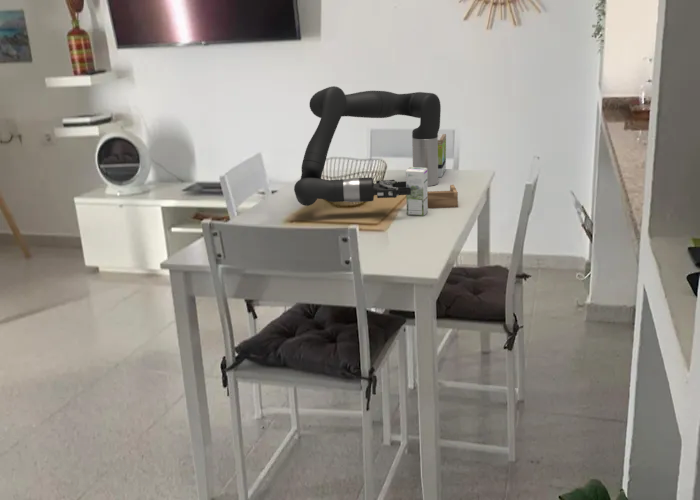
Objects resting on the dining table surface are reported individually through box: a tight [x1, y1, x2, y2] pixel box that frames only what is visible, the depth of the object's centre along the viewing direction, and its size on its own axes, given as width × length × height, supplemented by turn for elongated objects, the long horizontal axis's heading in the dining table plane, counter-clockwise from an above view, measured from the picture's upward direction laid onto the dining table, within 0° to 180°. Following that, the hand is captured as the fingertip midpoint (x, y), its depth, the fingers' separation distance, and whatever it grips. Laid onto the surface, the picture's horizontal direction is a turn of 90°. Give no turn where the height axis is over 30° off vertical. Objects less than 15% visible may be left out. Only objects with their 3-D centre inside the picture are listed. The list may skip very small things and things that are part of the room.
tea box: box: [438, 133, 447, 178], centre depth 291 cm, size 15×10×15 cm, turn 168°
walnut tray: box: [427, 184, 459, 209], centre depth 247 cm, size 11×11×5 cm
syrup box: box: [405, 166, 429, 217], centre depth 234 cm, size 6×6×14 cm
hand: (409, 187), depth 234 cm, fingers open, 8 cm apart
